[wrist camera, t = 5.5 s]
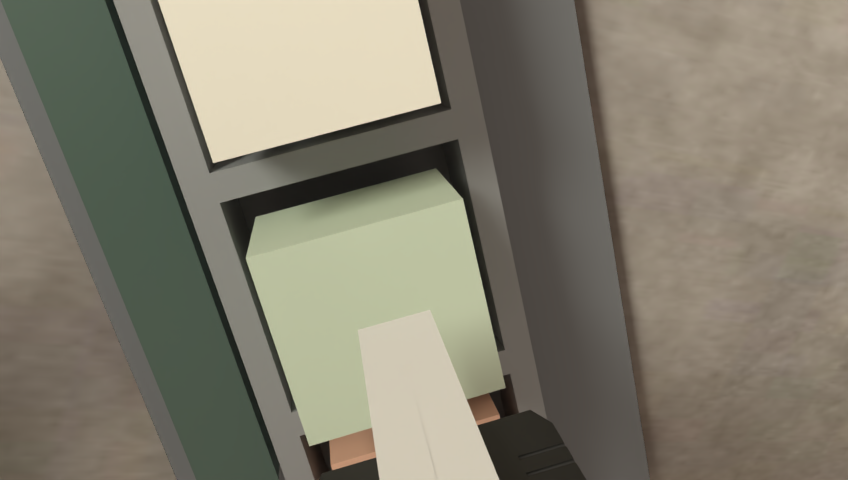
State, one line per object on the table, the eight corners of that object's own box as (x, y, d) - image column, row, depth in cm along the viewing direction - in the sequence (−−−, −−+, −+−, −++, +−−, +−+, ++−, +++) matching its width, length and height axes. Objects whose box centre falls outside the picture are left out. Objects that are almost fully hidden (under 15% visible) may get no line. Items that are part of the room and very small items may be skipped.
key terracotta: (365, 523, 25) (375, 599, 22) (326, 402, 24) (330, 464, 20) (501, 481, 26) (530, 549, 22) (472, 359, 24) (499, 414, 21)
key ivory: (229, 137, 18) (213, 163, 15) (161, -70, 17) (127, -91, 14) (417, 88, 19) (441, 103, 16) (368, -119, 17) (384, -151, 14)
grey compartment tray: (239, 601, 27) (228, 696, 23) (-194, -450, 17) (-341, -587, 13) (640, 475, 28) (692, 546, 24) (468, -574, 18) (513, -732, 14)
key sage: (308, 378, 21) (309, 446, 17) (255, 217, 19) (245, 258, 16) (474, 330, 21) (505, 387, 18) (435, 168, 20) (463, 198, 16)
